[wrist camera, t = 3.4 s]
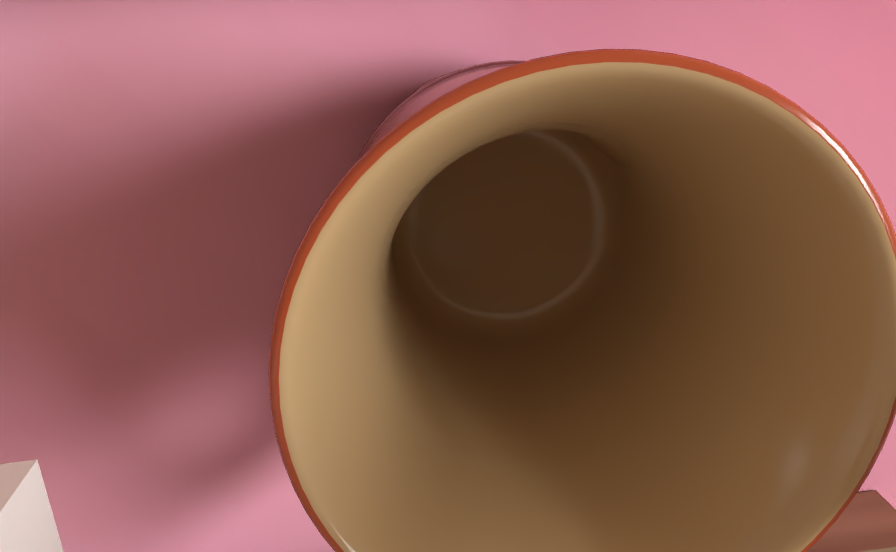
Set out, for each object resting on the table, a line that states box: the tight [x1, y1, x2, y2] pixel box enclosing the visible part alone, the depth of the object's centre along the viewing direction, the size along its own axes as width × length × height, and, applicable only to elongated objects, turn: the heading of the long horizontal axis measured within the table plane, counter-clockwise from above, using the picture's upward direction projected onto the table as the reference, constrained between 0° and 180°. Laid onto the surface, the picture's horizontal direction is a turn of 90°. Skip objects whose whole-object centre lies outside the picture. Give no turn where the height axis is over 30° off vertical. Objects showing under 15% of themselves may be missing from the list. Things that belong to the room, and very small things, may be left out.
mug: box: [269, 49, 896, 552], centre depth 17 cm, size 12×9×10 cm
